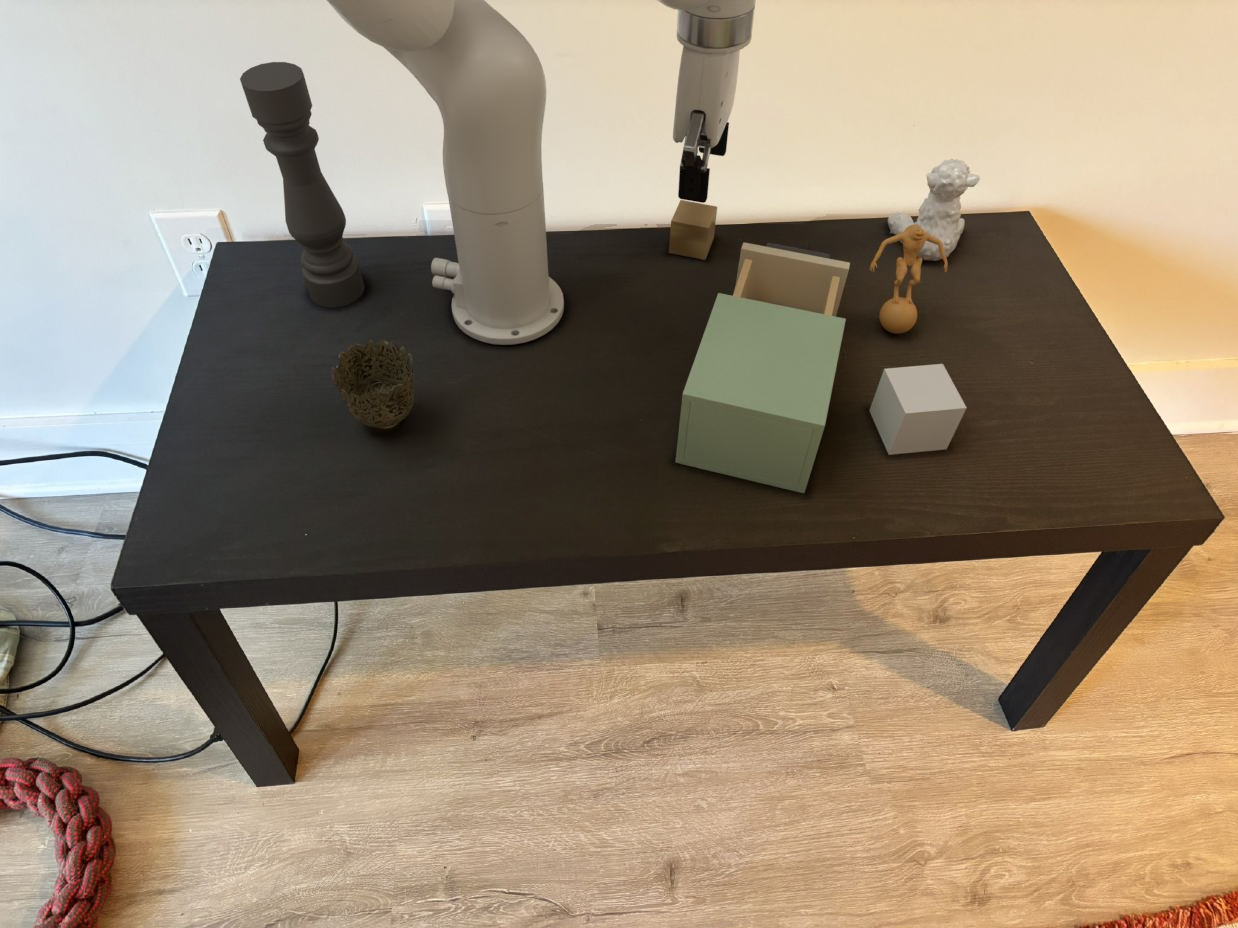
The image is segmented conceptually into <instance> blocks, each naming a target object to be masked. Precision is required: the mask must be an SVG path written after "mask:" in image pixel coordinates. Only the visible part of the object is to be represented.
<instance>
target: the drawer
mask: <svg viewBox="0 0 1238 928" xmlns="http://www.w3.org/2000/svg"><path fill="white" fill-rule="evenodd" d="M830 256H831V254H830V253H824V252H821V251H814V250H809V249H803V248H798V247H793V246H788V245H783V244H778V243H772V242H766V245H759V244H754V243H749V242H742V245H741V248H740V254H739V261H738V268H737V273H736V281H735V287H734V290H733V294H732V296H736V297H741V298H746V299H751V300H756V301H761V302H766V303H771V304H776V305H781V306H786V307H790V308H795V309H800V310H805V311H810V312H815V313H820V314H825V315H830V316H835V317H837V314H838V310H839V307H840V303H841V299H842V296H843V292H844V289H845V285H846V282H847V278H848V274H849V270H850V266H851V262H850V261H849V262H848V261H843V260H839V259H833V258H830Z"/></svg>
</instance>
